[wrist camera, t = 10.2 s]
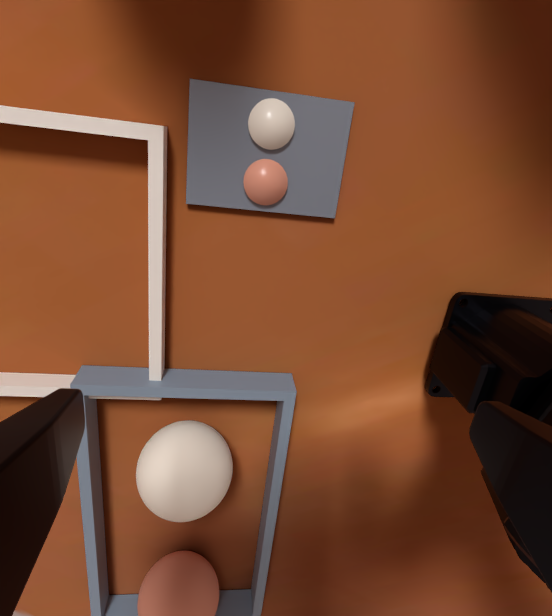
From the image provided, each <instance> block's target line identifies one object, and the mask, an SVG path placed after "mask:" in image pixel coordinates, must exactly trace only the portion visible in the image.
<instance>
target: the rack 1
mask: <svg viewBox="0 0 552 616" xmlns="http://www.w3.org/2000/svg"><path fill="white" fill-rule="evenodd" d="M0 123H9V124H17V125H25V126H33V127H42V128H50V129H58V130H67V131H75V132H83V133H92V134H100V135H108V136H116V137H125V138H133V139H141V140H148V241H149V380H152V381H161V380H162V376H163V372H164V368H165V285H166V203H167V127H166V126H159V125H151V124H143V123H135V122H127V121H119V120H112V119H104V118H96V117H88V116H80V115H72V114H64V113H56V112H48V111H40V110H32V109H24V108H16V107H9V106H1V105H0ZM75 376H76V375H65V374H37V373H8V372H0V396H21V397H45V396H47V395H49V394H50V393H52V392H54V391H56V390H58V389H60V388H70V384H71V382H72V381H73V379H74V378H75ZM88 398H95V399H132V400H161V398H160V397H124V396H88Z"/></svg>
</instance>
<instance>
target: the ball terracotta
mask: <svg viewBox="0 0 552 616" xmlns="http://www.w3.org/2000/svg"><path fill="white" fill-rule="evenodd" d="M218 602H219V584H218V579H217V576H216V573H215V571H214V569H213V567H212V566H211V564H210V563H209V562H208V561H207V560H206V559H205V558H204V557H203V556H201V555H200V554H197V553H195V552H192V551H185V550H183V551H176V552H172V553H170V554H168V555H166V556H164V557H162V558H161V559H160V560H158V561H157V562H156V563H155V564H154V565H153V566H152V567H151V569H150V570H149V571H148V573H147V574H146V576H145V578H144V580H143V582H142V585H141V587H140V591H139V595H138V603H137V610H138V616H215V614H216V611H217V607H218Z"/></svg>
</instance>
